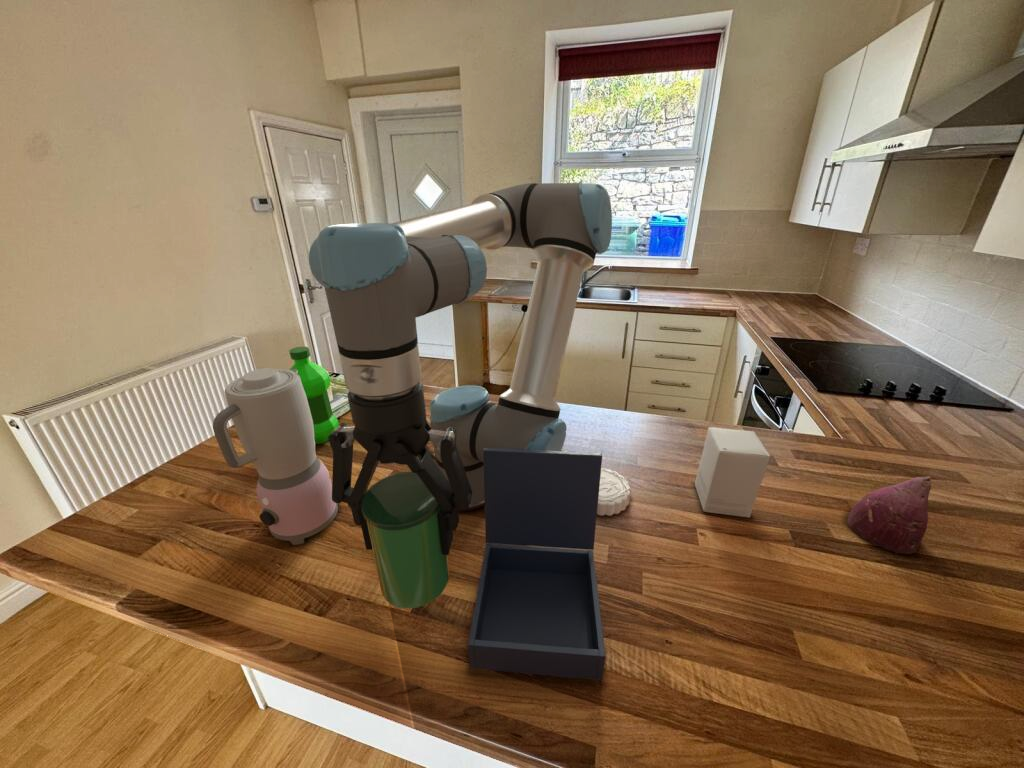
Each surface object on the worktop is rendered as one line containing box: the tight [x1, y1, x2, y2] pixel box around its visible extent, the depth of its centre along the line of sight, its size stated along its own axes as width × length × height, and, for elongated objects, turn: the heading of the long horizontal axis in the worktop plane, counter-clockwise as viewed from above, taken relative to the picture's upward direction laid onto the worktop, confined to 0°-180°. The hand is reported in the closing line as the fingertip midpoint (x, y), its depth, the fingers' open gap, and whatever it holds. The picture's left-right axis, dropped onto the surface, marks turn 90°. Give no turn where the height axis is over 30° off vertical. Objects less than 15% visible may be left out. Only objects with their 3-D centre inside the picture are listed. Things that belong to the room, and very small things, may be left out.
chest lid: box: [483, 448, 603, 551], centre depth 63 cm, size 18×18×1 cm
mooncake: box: [597, 467, 632, 517], centre depth 84 cm, size 12×12×4 cm
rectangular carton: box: [694, 426, 771, 518], centre depth 80 cm, size 9×9×15 cm
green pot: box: [361, 471, 450, 610], centre depth 51 cm, size 9×9×14 cm
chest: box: [467, 543, 607, 681], centre depth 60 cm, size 17×18×6 cm
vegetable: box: [847, 476, 932, 555], centre depth 73 cm, size 10×10×15 cm
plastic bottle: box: [288, 345, 340, 445], centre depth 100 cm, size 10×10×25 cm
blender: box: [212, 367, 339, 546], centre depth 71 cm, size 16×12×32 cm
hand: (410, 543), depth 51 cm, fingers closed on green pot, 9 cm apart
